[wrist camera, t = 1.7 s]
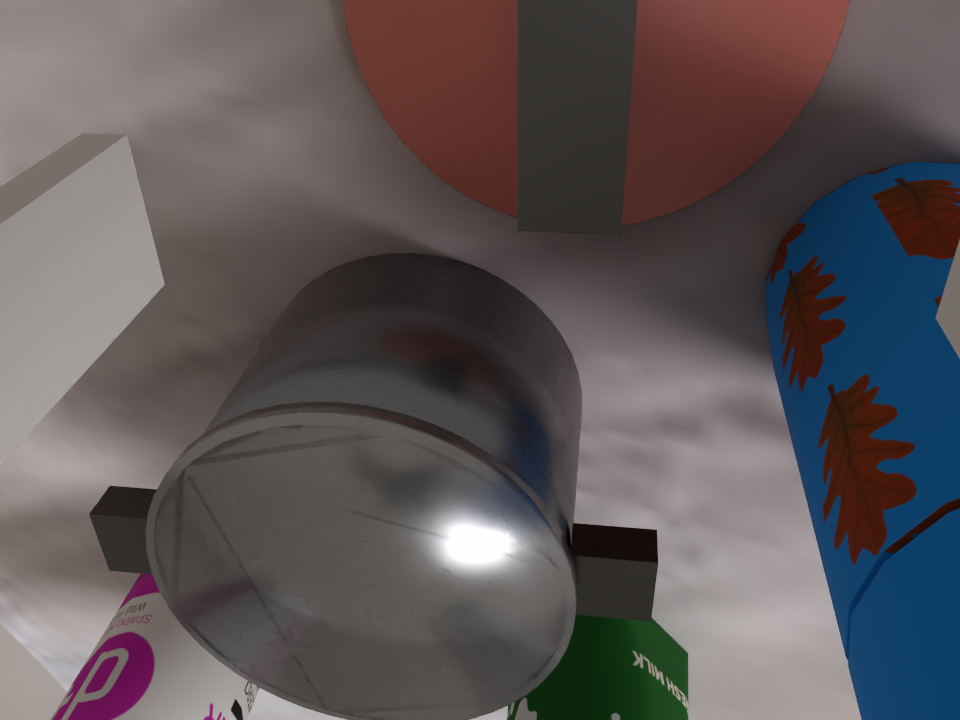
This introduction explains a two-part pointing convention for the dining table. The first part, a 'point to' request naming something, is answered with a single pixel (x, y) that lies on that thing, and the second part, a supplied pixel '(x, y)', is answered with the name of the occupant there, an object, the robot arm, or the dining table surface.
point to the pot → (388, 503)
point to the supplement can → (153, 670)
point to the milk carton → (612, 675)
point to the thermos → (879, 425)
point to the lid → (591, 96)
